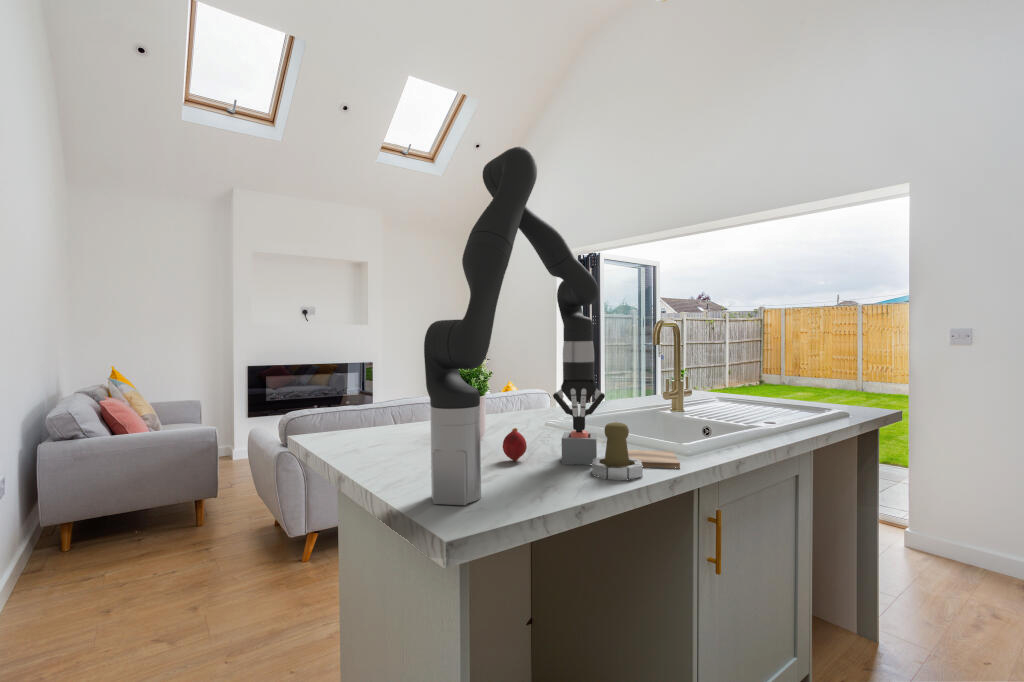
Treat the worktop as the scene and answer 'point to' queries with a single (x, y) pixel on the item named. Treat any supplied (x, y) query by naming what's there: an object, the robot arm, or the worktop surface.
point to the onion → (514, 445)
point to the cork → (616, 444)
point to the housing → (579, 449)
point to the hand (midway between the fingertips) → (579, 431)
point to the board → (655, 458)
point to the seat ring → (617, 469)
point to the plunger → (579, 434)
